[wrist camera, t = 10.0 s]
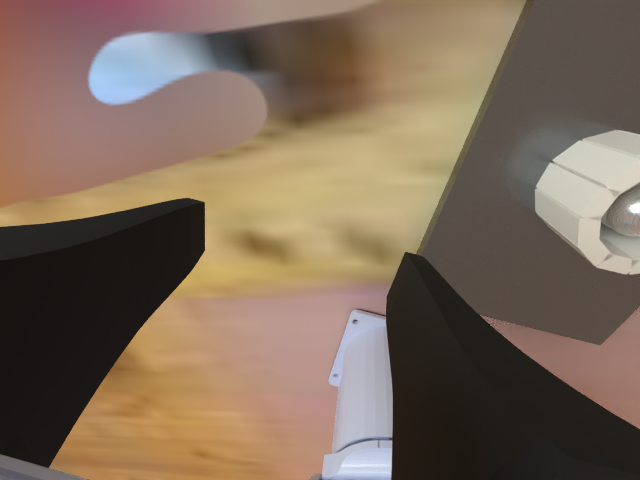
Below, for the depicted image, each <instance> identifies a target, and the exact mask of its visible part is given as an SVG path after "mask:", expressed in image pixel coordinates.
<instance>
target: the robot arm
mask: <svg viewBox="0 0 640 480" xmlns="http://www.w3.org/2000/svg"><path fill="white" fill-rule="evenodd" d="M204 251H205V202H202V201H198V200H194V199H190V198H183V199H176V200H171V201H166V202H161V203H157V204H152V205H148V206H143V207H139V208H134V209H130V210H125V211H120V212H115V213H110V214H105V215H100V216H95V217H89V218H83V219H76V220H69V221H61V222H53V223H45V224H34V225H21V226H8V227H0V480H88V479H85V478H81V477H78V476H74V475H71V474H67V473H64V472H60V471H57V470H53V469H50V468H49V466H50V465H51V463H52V461H53V459H54V458H55V456H56V454H57V453H58V451H59V449H60V448H61V446H62V444H63V443H64V441H65V439H66V438H67V436H68V434H69V433H70V431H71V429H72V428H73V426H74V424H75V423H76V421H77V420H78V418H79V416H80V415H81V413H82V412H83V410H84V409H85V407H86V406H87V404H88V402H89V401H90V399H91V398H92V396H93V395H94V393H95V392H96V390H97V389H98V387H99V385H100V384H101V382H102V381H103V380H104V378H105V377H106V375H107V374H108V372H109V371H110V369H111V368H112V367H113V365H114V364H115V362H116V361H117V359H118V358H119V356H120V355H121V354H122V352H123V351H124V350H125V348H126V347H127V345H128V344H129V343H130V341H131V340H132V339H133V337H134V336H135V335H136V333H137V332H138V330H139V329H140V328H141V327H142V326H143V324H144V323H145V322H146V321H147V320H148V318H149V317H150V316H151V315H152V314H153V313H154V312H155V311H156V310H157V308H158V307H159V306H160V305H161V304H162V303H163V302H164V301H165V300H166V299H167V298H168V296H169V295H170V294H171V293H172V292H173V291H174V290H175V289H176V288H177V287H178V286H179V284H180V283H181V282H182V281H183V280H184V279H185V278H186V277H187V275H188V274H189V273H190V272H191V271H192V269H193V268H194V266H195V265H196V263H197V262H198V260H199V259H200V257H201V256H202V254H203V253H204ZM354 320H358V321H354ZM329 384H331V385H333V386H337V387H338V397H337V406H336V416H335V425H334V435H333V444H332V454H325V455H324V464H323V472H322V474H316V475H314V476H312V477H311V478H310V479H309V480H640V429H638V428H637V427H635V426H633V425H632V424H630V423H628V422H626V421H625V420H623V419H621V418H620V417H618V416H616V415H614V414H613V413H611V412H610V411H608V410H606V409H605V408H603V407H602V406H600V405H599V404H597V403H595V402H594V401H592V400H591V399H589V398H588V397H586V396H585V395H583V394H581V393H580V392H578V391H577V390H575V389H574V388H572V387H571V386H569V385H568V384H566V383H565V382H563V381H562V380H561V379H559V378H558V377H556V376H555V375H553V374H552V373H550V372H549V371H548V370H546V369H545V368H544V367H542V366H541V365H539V364H538V363H537V362H535V361H534V360H533V359H531V358H530V357H529V356H527V355H526V354H525V353H523V352H522V351H521V350H519V349H518V348H517V347H516V346H514V345H513V344H512V343H511V342H510V341H508V340H507V339H506V338H505V337H504V336H502V335H501V334H500V333H499V332H498V331H496V330H495V329H494V328H493V327H492V326H491V325H490V324H488V323H487V322H486V321H485V320H484V319H483V318H482V317H481V316H480V315H479V314H478V313H477V312H476V311H475V310H474V309H473V308H472V307H471V306H470V305H468V304H467V302H466V301H465V300H464V299H463V298H462V297H461V296H460V295H459V294H458V293H457V292H456V291H455V290H454V289H453V288H452V287H451V286H450V285H449V283H448V282H447V281H446V280H445V279H444V278H443V277H442V276H441V275H440V273H439V272H438V271H437V270H436V269H435V268H434V267H433V266H432V265H431V264H430V263H429V262H428V261H427V260H426V259H425V258H424V257H423V256H420V255H416V254H412V253H408V252H405V254H404V256H403V259H402V261H401V264H400V266H399V269H398V271H397V273H396V276H395V278H394V281H393V283H392V286H391V288H390V290H389V293H388V295H387V305H386V317H384V316H381V315H377V314H373V313H369V312H365V311H361V310H353V311H352V312H351V315H350V318H349V321H348V323H347V326H346V329H345V332H344V335H343V338H342V341H341V344H340V347H339V350H338V353H337V356H336V359H335V362H334V364H333V367H332V370H331V373H330V376H329Z"/></svg>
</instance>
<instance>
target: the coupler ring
mask: <svg viewBox="0 0 640 480" xmlns="http://www.w3.org/2000/svg"><path fill="white" fill-rule="evenodd" d="M552 161H553V162H554V163H555V164H554V163H549V165H548V167H547V168H546V170H545V172H544V173H543V175H542V177H541V178H540V180H539V182H538V183H537V185H536V187H537V189H535V211H536V212H537V215H538V216H539V217H540V218H541V219H542V220H543V221H544V222H545V223H546V225H547V226H548V227H549V228H550V229H551V230H553V231H554V232H555V233H556V234H557V235H558V236H560V237H561V238H562V239H563V240H564V241H565V242H567V243H568V244H569V245H570V246H571V247H573V248H574V249H575V250H576V251H577V252H578V253H580V254H581V255H582V256H583V257H584V258H586V259H587V260H588V261H589V262H590V263H591V264H593V265H594V266H596V267H597V268H601V269H605V270H609V271H613V272H617V273H621V274H625V275H627V274H630V275H632V274H639V273H640V236H628V235H623V234H620V233H618V232H616V231H614V230H612V229H611V228H609V227H607V226H606V225H604V224H603V223H601V218H602V216H603V215H604V214H605V212H606V211H607V210H608V208H609V207H610V206H611V204H612V203H613V202H614V200H615V199H616V198H617V196H618V195H619V194H621V193H623V192H624V191H626V190H628V189H629V188H631V187H632V186H634V185H636V184H637V183H639V182H640V134H635V133H630V132H626V131H621V130H618V131H617V130H614V131H610V132H606V133H602V134H599V135H595V136H591V137H587V138H583V139H582V141H580V140H579V141H578V142H576V143H575V144H573V145H572V146H571V147H569V148H568V149H567V150H565V151H564V152H563V153H561V154H560V155H558V156H557V157H556V158H554V159H553V160H552Z"/></svg>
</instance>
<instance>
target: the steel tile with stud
mask: <svg viewBox="0 0 640 480" xmlns="http://www.w3.org/2000/svg"><path fill="white" fill-rule="evenodd" d="M614 130H617V131H618V130H621V131H626V132H630V133H635V134H640V0H527V1H526V4H525V6H524V8H523V10H522V13H521V15H520V17H519V20H518V22H517V24H516V27H515V29H514V31H513V33H512V36H511V38H510V40H509V43H508V45H507V47H506V50H505V52H504V54H503V56H502V59H501V61H500V63H499V66H498V68H497V70H496V73H495V75H494V77H493V79H492V82H491V84H490V86H489V89H488V91H487V93H486V95H485V98H484V100H483V102H482V105H481V107H480V109H479V112H478V114H477V116H476V118H475V121H474V123H473V125H472V128H471V130H470V132H469V135H468V137H467V139H466V141H465V144H464V146H463V148H462V151H461V153H460V155H459V157H458V160H457V162H456V164H455V167H454V169H453V171H452V174H451V176H450V178H449V180H448V183H447V185H446V187H445V190H444V192H443V194H442V197H441V199H440V201H439V203H438V206H437V208H436V210H435V213H434V215H433V217H432V219H431V222H430V224H429V226H428V229H427V231H426V233H425V236H424V238H423V240H422V242H421V245H420V247H419V249H418V252H417V254H416V255H420V256H423V257H424V258H425V259H426V260H427V261H428V262H429V263H430V264H431V265H432V266H433V267H434V268H435V269H436V270H437V271H438V272H439V273H440V275H441V276H442V277H443V278H444V279H445V280H446V281H447V282H448V283H449V285H450V286H451V287H452V288H453V289H454V290H455V291H456V292H457V293H458V294H459V295H460V296H461V297H462V298H463V299H464V300H465V301H466V302H467V304H468V305H470V306H471V307H472V308H473V309H474V310H475V311H476V312H477V313H478V314H479V315H483V316H487V317H491V318H495V319H499V320H503V321H507V322H511V323H515V324H519V325H523V326H527V327H530V328H534V329H538V330H542V331H546V332H550V333H554V334H558V335H562V336H566V337H570V338H574V339H578V340H582V341H586V342H590V343H594V344H598V345H601V344H602V343H603V342H604V341H605V340H606V339H607V338H608V337H609V336H610V335H611V334H612V333H613V332H614V331H615V330H616V329H617V328H618V327H619V326H620V325H621V324H622V323H623V322H624V321H625V320H626V319H627V318H628V317H629V316H630V315H631V314H632V313H633V312H634V311H635V310H636V309H637V308H638V307H639V306H640V273H639V274H632V275H630V274H627V275H625V274H621V273H617V272H613V271H609V270H605V269H601V268H597V267H596V266H594V265H593V264H591V263H590V262H589V261H588V260H587V259H586V258H584V257H583V256H582V255H581V254H580V253H578V252H577V251H576V250H575V249H574V248H573V247H571V246H570V245H569V244H568V243H567V242H565V241H564V240H563V239H562V238H561V237H560V236H558V235H557V234H556V233H555V232H554V231H553V230H551V229H550V228H549V227H548V226H547V225H546V223H545V222H544V221H543V220H542V219H541V218H540V217H539V216H538V215H537V212H536V211H535V189H537V187H536V185H537V183H538V182H539V180H540V178H541V177H542V175H543V173H544V172H545V170H546V168H547V167H548V165H549V163H554V162H553V161H552V160H553V159H554V158H556V157H557V156H558V155H560V154H561V153H563V152H564V151H565V150H567V149H568V148H569V147H571V146H572V145H573V144H575V143H576V142H578V141H579V140H580V141H582V139H583V138H587V137H591V136H595V135H599V134H602V133H606V132H610V131H614ZM554 164H555V163H554ZM601 223H603V224H604V225H606V226H607V227H609V228H611V229H612V230H614V231H616V232H618V233H620V234H623V235H628V236H640V182H639V183H637V184H636V185H634V186H632V187H631V188H629V189H628V190H626V191H624V192H623V193H621V194H619V195H618V196H617V198H616V199H615V200H614V202H613V203H612V204H611V206H610V207H609V208H608V210H607V211H606V212H605V214H604V215H603V216H602V218H601Z"/></svg>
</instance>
